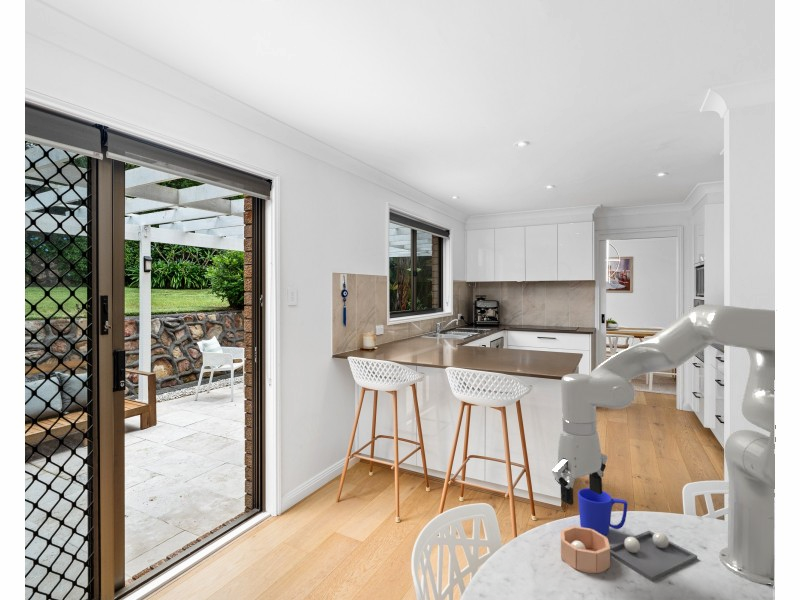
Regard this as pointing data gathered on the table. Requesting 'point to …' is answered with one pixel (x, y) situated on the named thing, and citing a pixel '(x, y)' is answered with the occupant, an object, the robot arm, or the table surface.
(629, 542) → the white ball
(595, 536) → the bowl
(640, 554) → the tray
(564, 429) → the robot arm
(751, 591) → the table surface
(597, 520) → the mug
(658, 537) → the white ball
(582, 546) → the white ball
